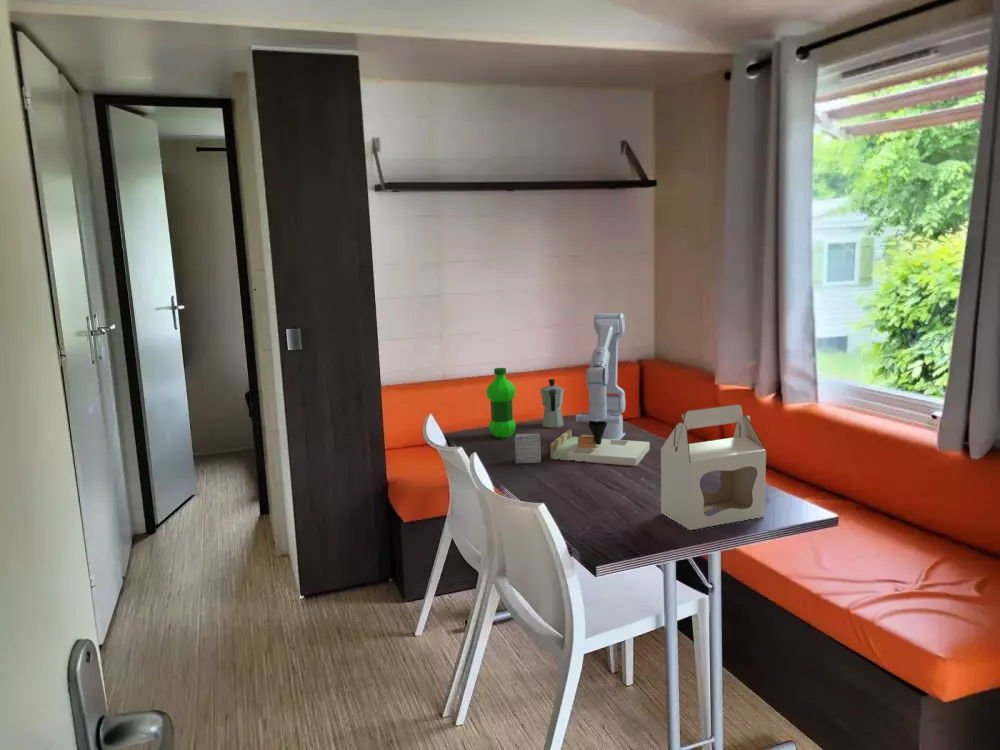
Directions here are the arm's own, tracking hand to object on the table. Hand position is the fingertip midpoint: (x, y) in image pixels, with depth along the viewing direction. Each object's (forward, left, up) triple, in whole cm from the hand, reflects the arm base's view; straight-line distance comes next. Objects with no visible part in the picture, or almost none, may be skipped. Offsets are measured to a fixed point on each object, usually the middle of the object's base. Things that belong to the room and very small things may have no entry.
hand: (598, 443), depth 246 cm
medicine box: (+14, -19, -4) cm, 24 cm away
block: (0, -4, -1) cm, 4 cm away
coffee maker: (-30, -26, -4) cm, 40 cm away
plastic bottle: (-12, -39, -4) cm, 41 cm away
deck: (0, +1, -3) cm, 3 cm away
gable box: (+44, +42, -4) cm, 62 cm away
